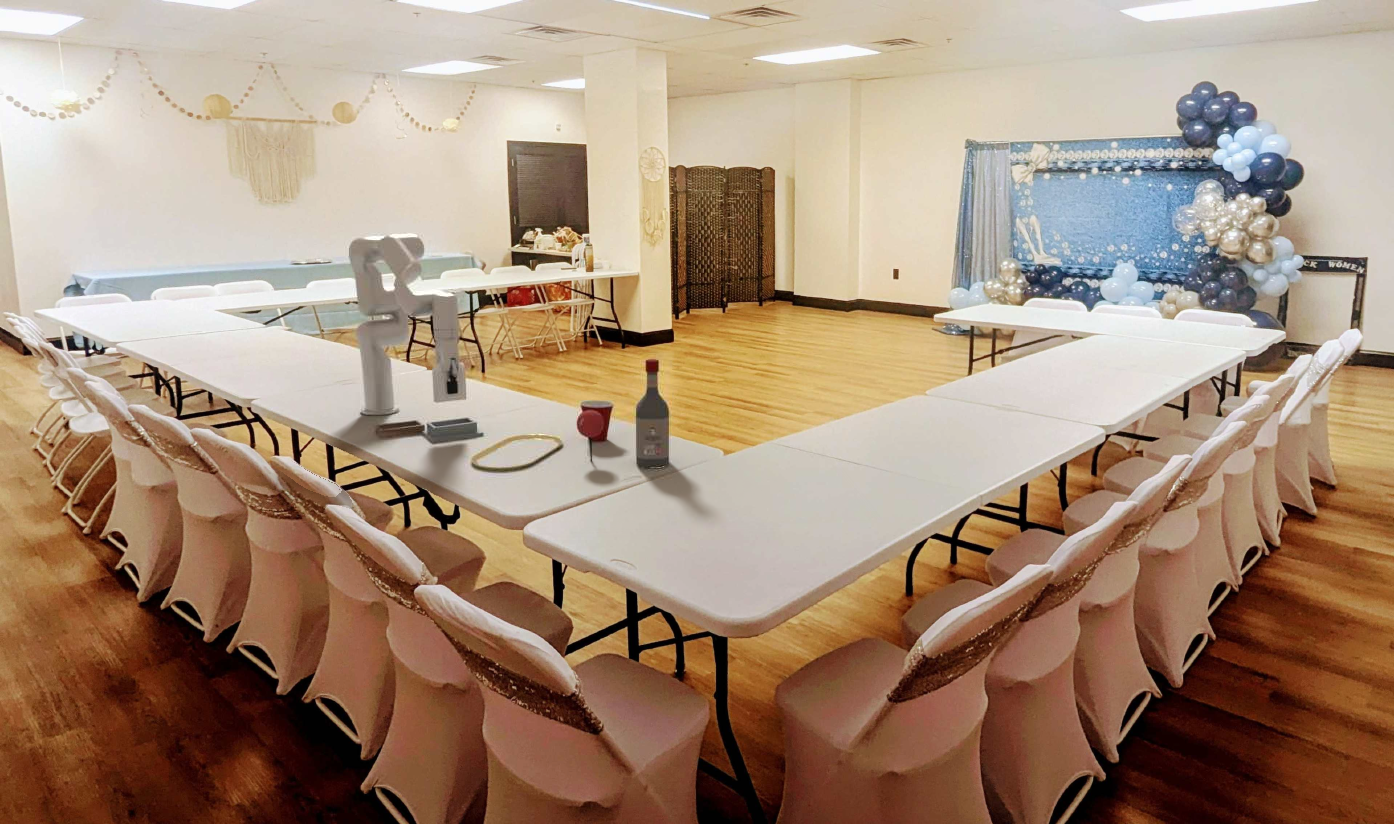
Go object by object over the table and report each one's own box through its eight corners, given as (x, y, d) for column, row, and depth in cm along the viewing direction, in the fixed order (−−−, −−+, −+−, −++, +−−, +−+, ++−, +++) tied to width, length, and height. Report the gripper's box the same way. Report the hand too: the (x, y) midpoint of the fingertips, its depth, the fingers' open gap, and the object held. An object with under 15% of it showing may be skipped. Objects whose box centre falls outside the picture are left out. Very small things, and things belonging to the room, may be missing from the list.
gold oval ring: (572, 442, 280) (572, 437, 280) (518, 475, 248) (518, 470, 247) (518, 436, 286) (518, 432, 285) (458, 468, 253) (458, 463, 253)
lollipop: (578, 457, 263) (576, 407, 259) (604, 457, 264) (603, 407, 260) (577, 465, 256) (575, 414, 252) (604, 465, 256) (603, 413, 253)
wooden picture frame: (375, 432, 287) (374, 425, 286) (418, 427, 294) (417, 419, 293) (381, 438, 281) (380, 430, 280) (425, 432, 288) (424, 425, 287)
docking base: (421, 433, 287) (420, 421, 286) (470, 427, 295) (470, 415, 294) (432, 442, 277) (432, 430, 276) (483, 435, 285) (482, 423, 284)
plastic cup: (620, 436, 286) (620, 399, 283) (606, 445, 276) (605, 407, 273) (589, 433, 289) (588, 396, 286) (574, 441, 279) (573, 404, 276)
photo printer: (464, 397, 288) (461, 358, 285) (468, 399, 284) (466, 361, 281) (432, 401, 282) (429, 362, 279) (436, 403, 279) (433, 364, 276)
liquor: (669, 468, 254) (669, 363, 247) (636, 468, 253) (635, 363, 246) (667, 458, 263) (667, 357, 255) (636, 459, 262) (635, 357, 255)
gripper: (426, 331, 283) (430, 388, 287) (442, 339, 269) (446, 398, 274) (450, 329, 287) (453, 385, 291) (467, 337, 273) (470, 396, 278)
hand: (450, 391), depth 282 cm, fingers closed on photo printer, 4 cm apart
